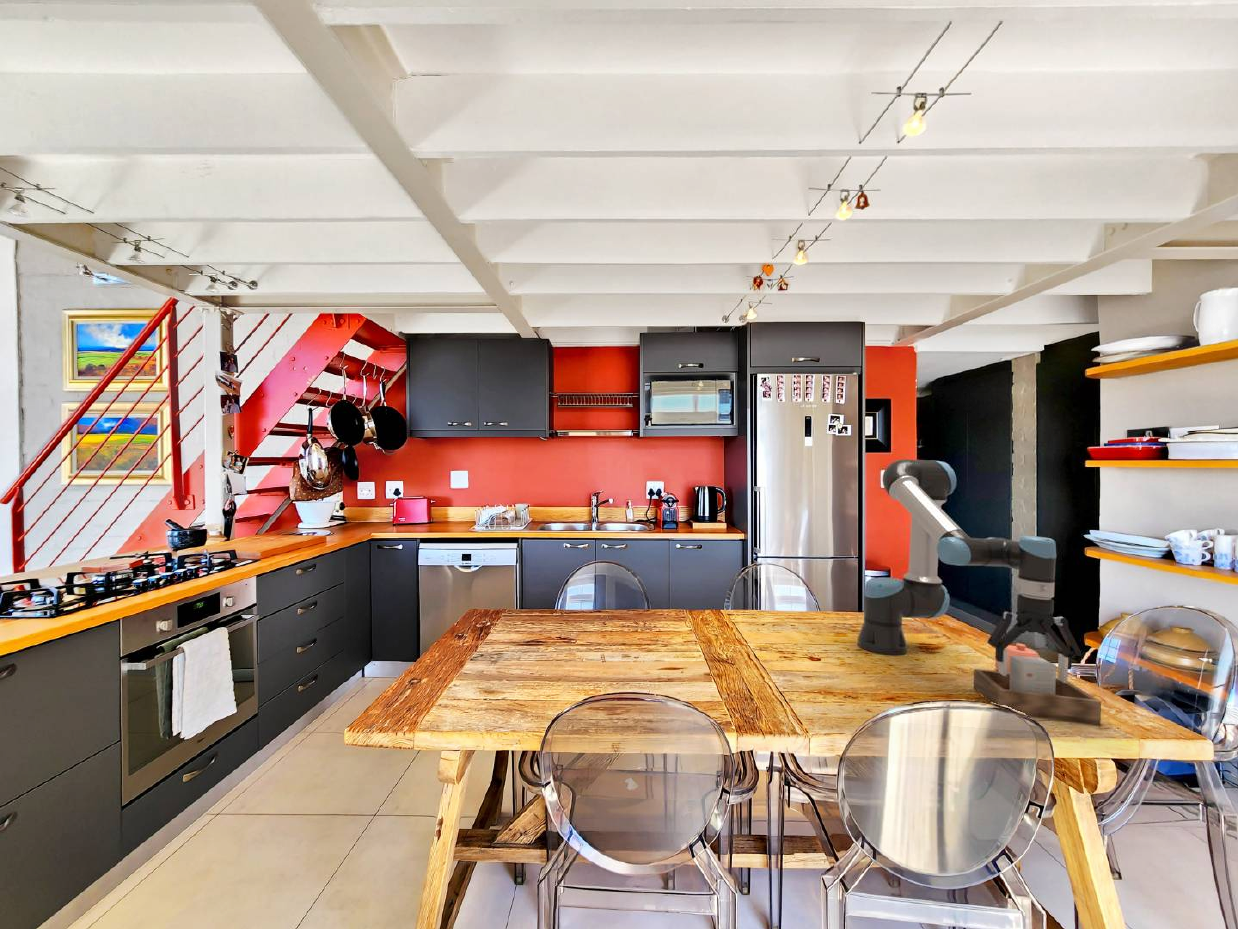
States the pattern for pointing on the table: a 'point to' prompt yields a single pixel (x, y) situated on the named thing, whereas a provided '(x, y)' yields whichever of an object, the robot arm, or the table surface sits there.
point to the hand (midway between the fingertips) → (1032, 677)
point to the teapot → (1017, 654)
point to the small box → (1032, 675)
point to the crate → (1039, 699)
